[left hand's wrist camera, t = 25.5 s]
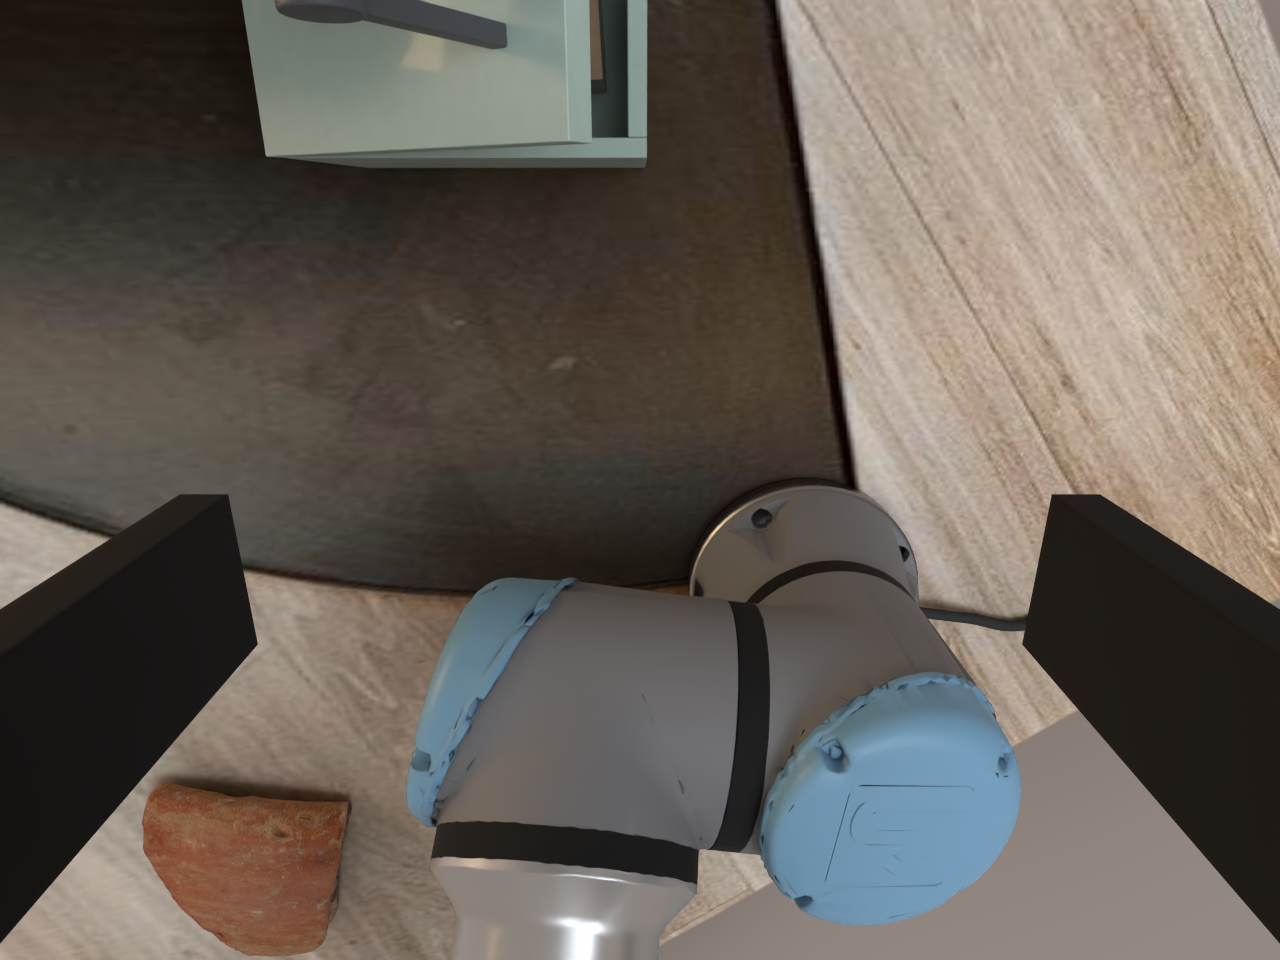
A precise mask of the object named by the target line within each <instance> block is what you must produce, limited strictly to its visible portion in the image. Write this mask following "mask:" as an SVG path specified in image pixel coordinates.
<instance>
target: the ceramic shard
mask: <svg viewBox="0 0 1280 960" xmlns="http://www.w3.org/2000/svg"><path fill="white" fill-rule="evenodd" d="M350 814H351V805H350V802H348V801H340V802H308V801H294V800H280V799H269V798H262V797H257V796H248V797H230V796H228V795H225V794H222V793H217V792H211V791H205V790H201V789H195V788H189V787H186V786H182V785H177V784H174V783H165V784H162V785H160V786H158V787H157V788H155V789H154V790H153V791H152V792H151V793H150V795H149V797H148V800H147V803H146V807H145V811H144V815H143V820H142V825H143V829H144V843H143V849H144V853H145V854H146V856H147V857H148V859H149V860H150V862H151V864H152V866H153V868H154V869H155V871H156V873H157V874H158V876H159V877H160V879H161V880H162V881H163V883H164V884H165V886H166V887H167V889H168V890H169V891H170V893H171V895H172V897H173V899H174V900H175V901H176V902H177V904H178V905H179V906H180V907H181V909H182V910H183V911H184V912H185V913H187V914H188V915H189V916H190V917H192V918H193V919H194V920H195V921H196V922H197V923H198V924H199V925H200V926H201V927H202V928H203V929H205V930H207V931H209V932H211V933H213V934H214V935H215V936H216V937H217V938H219V940H220V941H222V942H224V943H225V944H226V945H228V946H229V947H232V948H234V949H235V950H238V951H240V952H242V953H244V954H245V955H248V956H252V955H258V956H271V957H272V956H289V955H294V954H300V953H307V952H310V951H313V950H315V949H316V948H318V947H319V946H320V945H321V944H322V943H323V942H324V940H325V937H326V934H327V928H328V924H329V923H330V922H331V920H332V919H333V918H334V916H335V914H336V911H337V907H338V900H339V899H338V876H337V871H338V867H339V864H340V861H341V850H342V845H343V839H344V836H345V831H346V828H347V825H348V822H349V816H350Z"/></svg>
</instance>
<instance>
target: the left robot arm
mask: <svg viewBox="0 0 1280 960" xmlns="http://www.w3.org/2000/svg"><path fill="white" fill-rule="evenodd" d="M688 586H689V595H681V594H672V593H663V592H655V591H648V590H640V589H632V588H624V587H617V586H609V585H601V584H593V583H585V582H580V581H579V580H578V579H577V578H565V579H562V580H560V581H559V580H540V579H526V578H503V579H498V580H495V581H493V582H491V583H489V584H487V585H486V586H484V587H483V588H482V589H481V590H479V591H478V592H477V593H476V594H475V595H474V596H473V598H472V599H471V600H470V602H468V603H467V605H466V606H465V608H464V609H463V611H462V612H461V614H460V616H459V617H458V619H457V621H456V623H455V625H454V627H453V628H452V630H451V633H450V635H449V637H448V639H447V641H446V644H445V646H444V648H443V651H442V653H441V655H440V658H439V660H438V663H437V666H436V668H435V671H434V674H433V677H432V680H431V682H430V685H429V689H428V692H427V695H426V698H425V701H424V704H423V708H422V711H421V715H420V718H419V722H418V726H417V730H416V734H415V740H414V744H415V746H416V747H417V748H416V749H415V751H414V754H413V757H412V761H411V764H410V767H409V771H408V777H407V785H406V800H407V806H408V809H409V811H410V812H411V814H412V816H413V817H414V818H416V819H418V820H420V821H421V822H422V823H423V824H424V825H425V826H427V827H436V826H437V830H436V836H435V841H434V846H433V851H432V856H431V861H430V867H429V868H430V869H431V871H432V873H433V874H434V876H435V877H436V879H437V881H438V882H439V884H440V885H441V887H442V888H443V890H444V892H445V893H446V895H447V896H448V898H449V900H450V901H451V903H452V905H453V908H454V912H455V916H456V925H455V931H454V936H453V942H452V948H451V953H450V959H449V960H658V946H659V937H660V936H661V934H662V932H663V931H664V929H665V927H666V925H667V924H668V923H669V922H670V921H671V920H672V919H673V918H674V917H675V916H676V915H677V914H678V913H679V912H680V911H681V910H682V909H683V908H684V906H685V905H686V904H687V903H688V902H689V901H690V900H691V899H692V898H693V897H694V896H695V895H696V894H697V878H698V854H699V849H707V850H717V851H727V852H736V853H746V854H756V855H761V859H762V861H763V862H764V867H765V869H766V870H767V872H768V874H769V876H770V877H771V879H772V880H773V881H774V882H775V884H776V885H777V887H778V889H779V890H780V891H781V892H782V894H783V895H784V896H786V897H788V898H790V899H794V900H795V902H796V904H797V906H798V907H799V908H800V909H801V910H802V911H804V912H806V913H808V914H810V915H812V916H814V917H816V918H819V919H822V920H826V921H830V922H834V923H837V924H844V925H858V926H868V925H881V924H887V923H892V922H897V921H901V920H905V919H908V918H911V917H915V916H918V915H920V914H923V913H925V912H927V911H929V910H931V909H933V908H936V907H938V906H940V905H942V904H944V903H946V902H947V901H948V899H950V898H951V897H952V896H953V895H954V894H956V893H957V892H959V891H961V890H963V889H965V888H967V887H969V886H970V885H972V884H973V883H974V882H975V881H976V880H977V879H978V878H979V877H980V876H981V875H983V873H985V872H986V870H987V869H988V868H989V867H990V866H991V865H992V864H993V862H994V861H995V860H996V858H997V857H998V856H999V854H1000V853H1001V851H1002V850H1003V848H1004V846H1005V845H1006V843H1007V841H1008V839H1009V837H1010V835H1011V833H1012V831H1013V828H1014V826H1015V823H1016V820H1017V816H1018V812H1019V807H1020V800H1021V777H1020V771H1019V766H1018V763H1017V759H1016V756H1015V754H1014V751H1013V749H1012V747H1011V745H1010V743H1009V741H1008V739H1007V738H1006V736H1005V734H1004V733H1003V731H1002V729H1001V727H1000V726H999V724H998V722H997V719H996V716H995V712H994V710H993V707H992V705H991V703H990V702H989V701H988V700H987V698H986V696H985V694H984V693H983V692H982V691H981V690H980V689H979V688H978V687H977V685H976V684H975V682H974V681H973V680H972V678H971V677H970V676H969V674H968V673H967V672H966V670H965V669H964V667H963V666H962V665H961V663H960V662H959V661H958V659H957V658H956V656H955V655H954V654H953V652H952V651H951V650H950V648H949V647H948V646H947V644H946V643H945V641H944V640H943V639H942V637H941V636H940V635H939V633H938V632H937V631H936V629H935V628H934V626H933V625H932V624H931V622H930V621H929V620H928V619H936V620H944V621H952V622H961V623H969V624H974V625H979V626H983V627H987V628H991V629H995V630H1001V631H1023V630H1025V633H1024V638H1023V643H1022V645H1023V646H1024V647H1025V648H1026V649H1027V650H1028V652H1029V653H1030V654H1031V655H1032V656H1033V657H1034V658H1035V660H1036V661H1037V662H1038V663H1039V664H1040V665H1041V667H1042V668H1043V669H1044V670H1045V671H1046V672H1047V674H1048V675H1049V676H1050V677H1051V678H1052V679H1053V681H1054V682H1055V683H1056V684H1057V685H1058V686H1059V688H1060V689H1061V690H1062V691H1063V692H1064V693H1065V694H1066V696H1067V697H1068V698H1069V699H1070V700H1071V701H1072V703H1073V704H1074V705H1075V706H1076V707H1077V708H1078V710H1079V711H1080V712H1081V713H1082V714H1083V715H1084V717H1085V718H1086V719H1087V720H1088V721H1089V722H1090V723H1091V725H1092V726H1093V727H1094V728H1095V729H1096V730H1097V732H1098V733H1099V734H1100V735H1101V736H1102V737H1103V739H1104V740H1105V741H1106V742H1107V743H1108V744H1109V746H1110V747H1111V748H1112V749H1113V750H1114V751H1115V753H1116V754H1117V755H1118V756H1119V757H1120V758H1121V760H1122V761H1123V762H1124V763H1125V764H1126V765H1127V766H1128V768H1129V769H1130V770H1131V771H1132V772H1133V773H1134V775H1135V776H1136V777H1137V778H1138V779H1139V780H1140V782H1141V783H1142V784H1143V785H1144V786H1145V787H1146V789H1147V790H1148V791H1149V792H1150V793H1151V794H1152V796H1153V797H1154V798H1155V799H1156V800H1157V801H1158V802H1159V804H1160V805H1161V806H1162V807H1163V808H1164V809H1165V811H1166V812H1167V813H1168V814H1169V815H1170V816H1171V818H1172V819H1173V820H1174V821H1175V822H1176V823H1177V825H1178V826H1179V827H1180V828H1181V829H1182V830H1183V832H1184V833H1185V834H1186V835H1187V836H1188V837H1189V838H1190V840H1191V841H1192V842H1193V843H1194V844H1195V845H1196V847H1197V848H1198V849H1199V850H1200V851H1201V852H1202V854H1203V855H1204V856H1205V857H1206V858H1207V859H1208V861H1209V862H1210V863H1211V864H1212V865H1213V866H1214V868H1215V869H1216V870H1217V871H1218V872H1219V873H1220V874H1221V876H1222V877H1223V878H1224V879H1225V880H1226V881H1227V883H1228V884H1229V885H1230V886H1231V887H1232V888H1233V890H1234V891H1235V892H1236V893H1237V894H1238V895H1239V897H1240V898H1241V899H1242V900H1243V901H1244V902H1245V904H1246V905H1247V906H1248V907H1249V908H1250V909H1251V910H1252V912H1253V913H1254V914H1255V915H1256V916H1257V917H1258V919H1259V920H1260V921H1261V922H1262V923H1263V924H1264V926H1265V927H1266V928H1267V929H1268V930H1269V931H1270V933H1271V934H1272V935H1273V936H1274V937H1275V938H1276V940H1277V941H1278V942H1279V943H1280V609H1278V608H1277V607H1275V606H1274V605H1272V604H1271V603H1269V602H1267V601H1266V600H1264V599H1263V598H1261V597H1260V596H1258V595H1256V594H1255V593H1253V592H1252V591H1250V590H1249V589H1247V588H1245V587H1244V586H1242V585H1241V584H1239V583H1238V582H1236V581H1235V580H1233V579H1231V578H1230V577H1228V576H1227V575H1225V574H1224V573H1222V572H1220V571H1219V570H1217V569H1216V568H1214V567H1213V566H1211V565H1210V564H1208V563H1206V562H1205V561H1203V560H1202V559H1200V558H1199V557H1197V556H1195V555H1194V554H1192V553H1191V552H1189V551H1188V550H1186V549H1184V548H1183V547H1181V546H1180V545H1178V544H1177V543H1175V542H1174V541H1172V540H1170V539H1169V538H1167V537H1166V536H1164V535H1163V534H1161V533H1159V532H1158V531H1156V530H1155V529H1153V528H1152V527H1150V526H1149V525H1147V524H1145V523H1144V522H1142V521H1141V520H1139V519H1138V518H1136V517H1134V516H1133V515H1131V514H1130V513H1128V512H1127V511H1125V510H1123V509H1122V508H1120V507H1119V506H1117V505H1116V504H1114V503H1113V502H1111V501H1109V500H1108V499H1106V498H1105V497H1103V496H1102V495H1100V494H1052V497H1051V502H1050V507H1049V512H1048V517H1047V522H1046V527H1045V532H1044V537H1043V542H1042V547H1041V552H1040V557H1039V562H1038V567H1037V573H1036V578H1035V583H1034V588H1033V593H1032V598H1031V603H1030V608H1029V613H1028V618H1027V619H1026V620H1021V621H1003V620H997V619H993V618H989V617H986V616H981V615H977V614H971V613H963V612H955V611H947V610H939V609H931V608H923V607H919V595H918V572H917V566H916V561H915V557H914V554H913V551H912V549H911V546H910V544H909V542H908V540H907V538H906V536H905V535H904V533H903V532H902V531H901V529H900V528H899V526H898V525H897V524H896V523H895V521H894V520H893V519H892V517H891V516H890V515H889V514H888V513H887V512H886V511H885V510H884V508H882V507H881V506H880V505H879V504H878V503H877V502H876V501H874V500H873V499H872V498H870V497H869V496H867V495H866V494H864V493H862V492H860V491H859V490H856V489H854V488H852V487H850V486H847V485H844V484H841V483H838V482H833V481H829V480H822V479H807V478H804V479H791V480H784V481H780V482H775V483H771V484H768V485H766V486H763V487H760V488H758V489H755V490H753V491H751V492H749V493H747V494H745V495H744V496H742V497H740V498H739V499H737V500H736V501H734V502H733V503H731V504H730V505H729V506H728V507H726V508H725V509H724V510H723V511H722V512H721V513H720V514H719V515H718V516H717V517H716V518H715V519H714V520H713V521H712V523H711V524H710V525H709V526H708V528H707V529H706V531H705V532H704V534H703V535H702V537H701V539H700V541H699V542H698V544H697V547H696V549H695V552H694V554H693V557H692V561H691V565H690V571H689V581H688ZM257 645H258V643H257V638H256V633H255V628H254V623H253V618H252V613H251V608H250V603H249V598H248V593H247V588H246V583H245V578H244V573H243V567H242V562H241V557H240V552H239V547H238V542H237V537H236V532H235V527H234V522H233V517H232V512H231V507H230V502H229V497H228V494H180V495H178V496H177V497H175V498H174V499H172V500H171V501H169V502H167V503H166V504H164V505H163V506H161V507H160V508H158V509H157V510H155V511H153V512H152V513H150V514H149V515H147V516H146V517H144V518H142V519H141V520H139V521H138V522H136V523H135V524H133V525H131V526H130V527H128V528H127V529H125V530H124V531H122V532H121V533H119V534H117V535H116V536H114V537H113V538H111V539H110V540H108V541H106V542H105V543H103V544H102V545H100V546H99V547H97V548H96V549H94V550H92V551H91V552H89V553H88V554H86V555H85V556H83V557H81V558H80V559H78V560H77V561H75V562H74V563H72V564H70V565H69V566H67V567H66V568H64V569H63V570H61V571H60V572H58V573H56V574H55V575H53V576H52V577H50V578H49V579H47V580H45V581H44V582H42V583H41V584H39V585H38V586H36V587H35V588H33V589H31V590H30V591H28V592H27V593H25V594H24V595H22V596H20V597H19V598H17V599H16V600H14V601H13V602H11V603H9V604H8V605H6V606H5V607H3V608H2V609H0V943H1V942H2V941H3V940H4V938H5V937H6V936H7V935H8V934H9V933H10V931H11V930H12V929H13V928H14V927H15V926H16V924H17V923H18V922H19V921H20V920H21V919H22V917H23V916H24V915H25V914H26V913H27V912H28V910H29V909H30V908H31V907H32V906H33V905H34V904H35V902H36V901H37V900H38V899H39V898H40V897H41V895H42V894H43V893H44V892H45V891H46V890H47V888H48V887H49V886H50V885H51V884H52V883H53V881H54V880H55V879H56V878H57V877H58V876H59V874H60V873H61V872H62V871H63V870H64V869H65V868H66V866H67V865H68V864H69V863H70V862H71V861H72V859H73V858H74V857H75V856H76V855H77V854H78V852H79V851H80V850H81V849H82V848H83V847H84V845H85V844H86V843H87V842H88V841H89V840H90V838H91V837H92V836H93V835H94V834H95V833H96V832H97V830H98V829H99V828H100V827H101V826H102V825H103V823H104V822H105V821H106V820H107V819H108V818H109V816H110V815H111V814H112V813H113V812H114V811H115V809H116V808H117V807H118V806H119V805H120V804H121V802H122V801H123V800H124V799H125V798H126V797H127V796H128V794H129V793H130V792H131V791H132V790H133V789H134V787H135V786H136V785H137V784H138V783H139V782H140V780H141V779H142V778H143V777H144V776H145V775H146V773H147V772H148V771H149V770H150V769H151V768H152V766H153V765H154V764H155V763H156V762H157V761H158V760H159V758H160V757H161V756H162V755H163V754H164V753H165V751H166V750H167V749H168V748H169V747H170V746H171V744H172V743H173V742H174V741H175V740H176V739H177V737H178V736H179V735H180V734H181V733H182V732H183V730H184V729H185V728H186V727H187V726H188V725H189V724H190V722H191V721H192V720H193V719H194V718H195V717H196V715H197V714H198V713H199V712H200V711H201V710H202V708H203V707H204V706H205V705H206V704H207V703H208V701H209V700H210V699H211V698H212V697H213V696H214V694H215V693H216V692H217V691H218V690H219V689H220V688H221V686H222V685H223V684H224V683H225V682H226V681H227V679H228V678H229V677H230V676H231V675H232V674H233V672H234V671H235V670H236V669H237V668H238V667H239V665H240V664H241V663H242V662H243V661H244V660H245V658H246V657H247V656H248V655H249V654H250V653H251V652H252V650H253V649H254V648H255V647H256V646H257Z"/></svg>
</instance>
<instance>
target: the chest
mask: <svg viewBox="0 0 1280 960" xmlns="http://www.w3.org/2000/svg"><path fill="white" fill-rule="evenodd" d="M602 13H603V30H604V46H605V63H606V80H607V93H599V94H591V117H592V143H591V144H573V145H552V146H531V147H510V148H489V149H468V150H447V151H426V152H405V153H384V154H364V155H343V156H322V157H301V158H290V159H298V160H307V161H315V162H323V163H331V164H340V165H348V166H356V167H365V168H644V167H645V164H646V158H647V0H602Z"/></svg>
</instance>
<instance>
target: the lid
mask: <svg viewBox="0 0 1280 960" xmlns="http://www.w3.org/2000/svg"><path fill="white" fill-rule="evenodd" d="M242 4H243V11H244V17H245V24H246V30H247V37H248V43H249V50H250V56H251V63H252V69H253V76H254V82H255V88H256V95H257V101H258V108H259V114H260V121H261V127H262V134H263V140H264V147H265V153H266V156H267V157H284V158H301V157H322V156H343V155H364V154H384V153H405V152H426V151H447V150H468V149H489V148H510V147H531V146H552V145H573V144H591V143H592V117H591V67H590V17H589V0H242Z"/></svg>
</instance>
